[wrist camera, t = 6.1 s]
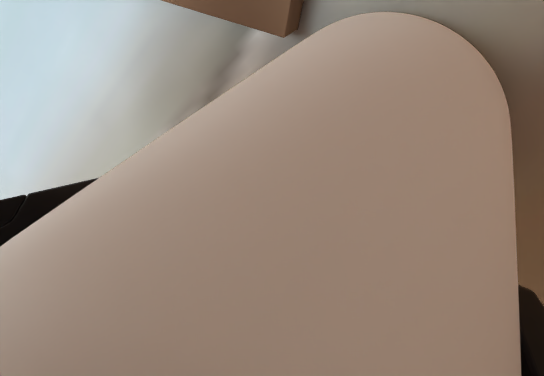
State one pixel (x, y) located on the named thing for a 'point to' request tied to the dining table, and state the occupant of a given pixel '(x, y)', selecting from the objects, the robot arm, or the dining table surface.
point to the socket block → (252, 13)
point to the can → (292, 227)
